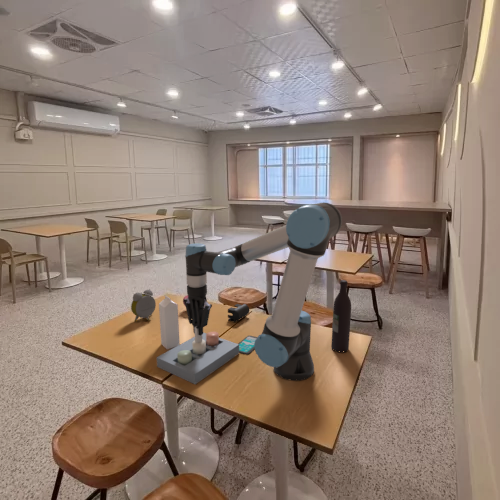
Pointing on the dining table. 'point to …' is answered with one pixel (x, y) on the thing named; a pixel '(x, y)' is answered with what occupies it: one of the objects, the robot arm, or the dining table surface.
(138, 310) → the alarm clock
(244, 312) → the end cap
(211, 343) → the button terracotta
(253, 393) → the dining table surface
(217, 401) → the dining table surface
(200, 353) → the button cream
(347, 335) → the wine bottle
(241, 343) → the smartphone
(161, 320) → the milk
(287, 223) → the robot arm
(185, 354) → the button sage
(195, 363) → the console
